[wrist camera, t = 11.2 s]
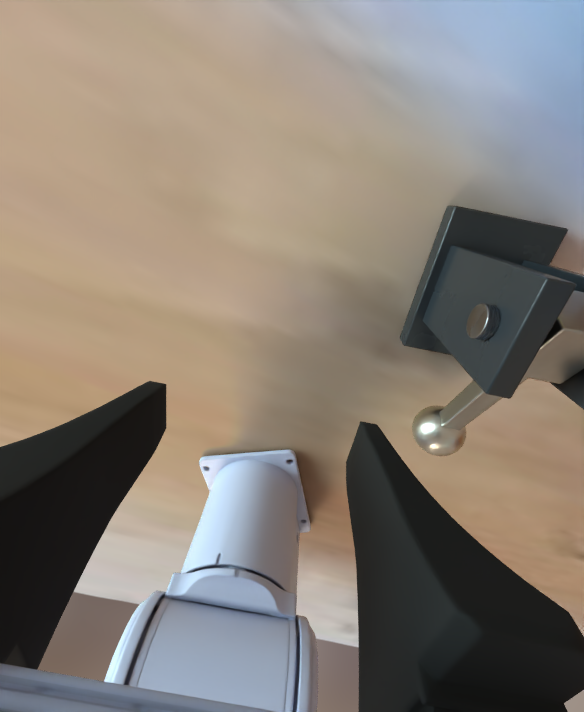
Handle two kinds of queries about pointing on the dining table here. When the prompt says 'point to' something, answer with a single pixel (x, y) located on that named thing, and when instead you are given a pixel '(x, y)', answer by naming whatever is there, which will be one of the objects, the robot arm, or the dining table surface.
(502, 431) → the dining table surface
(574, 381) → the dark grey lever bracket
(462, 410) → the tap lever
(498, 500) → the dining table surface
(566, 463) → the dining table surface
